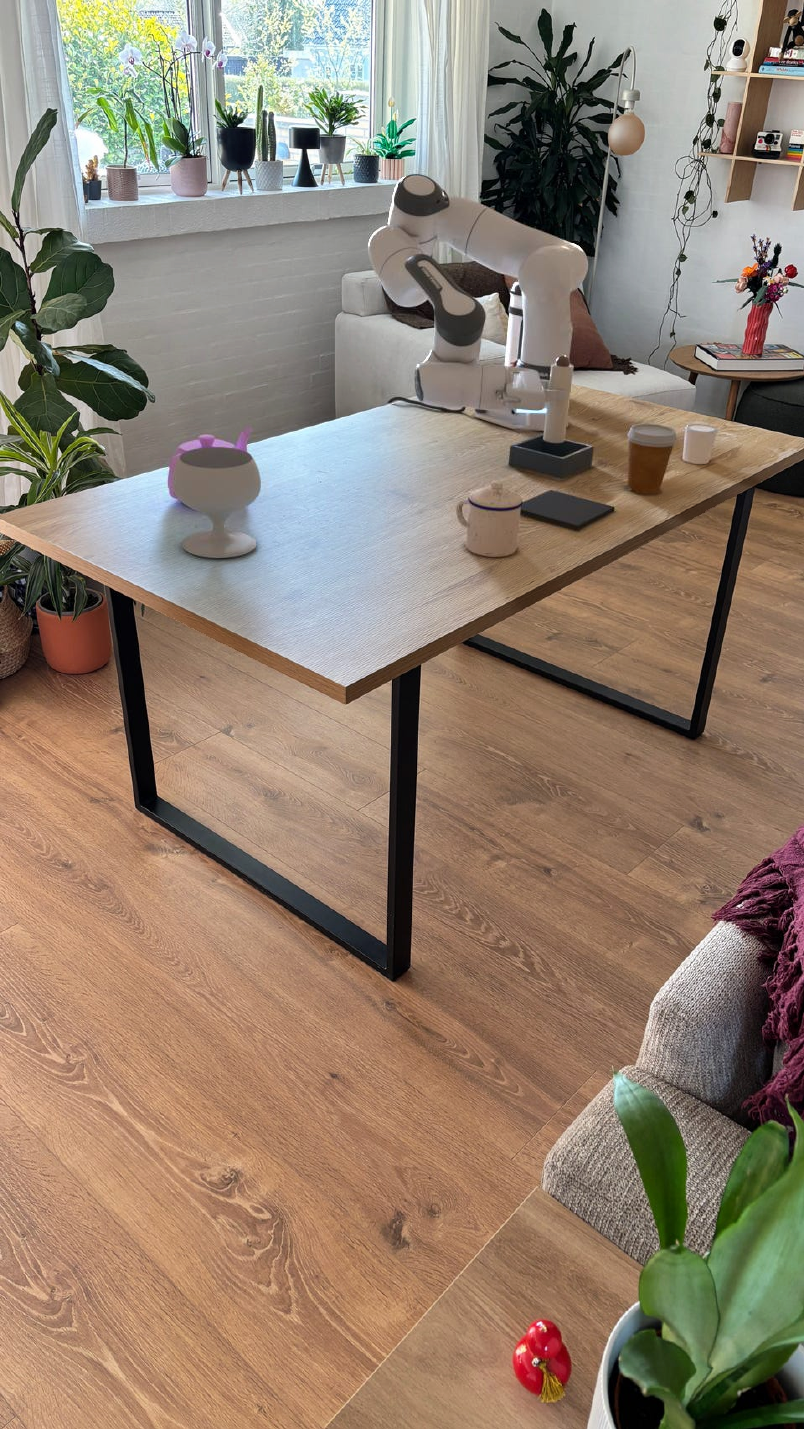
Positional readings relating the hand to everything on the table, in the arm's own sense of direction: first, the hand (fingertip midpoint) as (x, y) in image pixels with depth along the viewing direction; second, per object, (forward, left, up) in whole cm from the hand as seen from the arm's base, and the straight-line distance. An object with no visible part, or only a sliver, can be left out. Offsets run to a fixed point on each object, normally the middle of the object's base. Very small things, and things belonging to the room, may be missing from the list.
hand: (563, 391), depth 218 cm
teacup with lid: (+14, -48, -16) cm, 52 cm away
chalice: (-18, -79, -16) cm, 82 cm away
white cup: (+19, +27, -16) cm, 37 cm away
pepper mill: (-1, -1, -10) cm, 10 cm away
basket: (-1, -1, -16) cm, 16 cm away
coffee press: (-41, +52, -16) cm, 68 cm away
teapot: (-36, -63, -16) cm, 74 cm away
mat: (+15, -23, -16) cm, 31 cm away
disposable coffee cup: (+20, 0, -16) cm, 26 cm away
